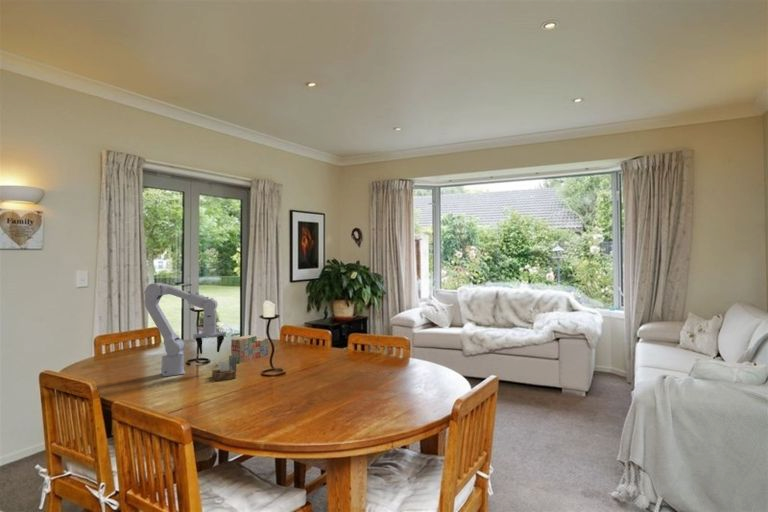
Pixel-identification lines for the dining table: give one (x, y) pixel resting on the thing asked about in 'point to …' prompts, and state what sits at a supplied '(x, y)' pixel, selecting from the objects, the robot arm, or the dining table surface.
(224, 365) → the block
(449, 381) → the dining table surface
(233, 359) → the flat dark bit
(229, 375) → the walnut bore block
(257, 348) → the stack of blocks
